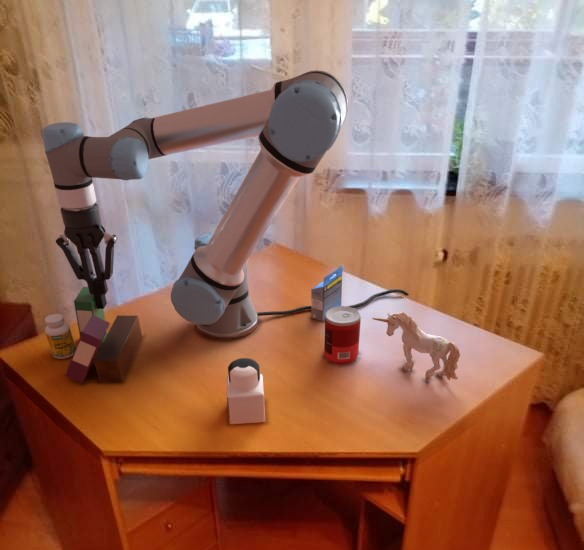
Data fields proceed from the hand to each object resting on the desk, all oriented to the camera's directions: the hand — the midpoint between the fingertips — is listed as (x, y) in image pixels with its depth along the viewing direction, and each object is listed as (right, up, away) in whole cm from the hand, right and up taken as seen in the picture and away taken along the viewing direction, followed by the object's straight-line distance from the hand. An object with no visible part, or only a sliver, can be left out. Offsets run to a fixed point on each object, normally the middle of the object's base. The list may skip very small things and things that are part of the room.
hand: (102, 305), depth 136 cm
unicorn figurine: (+70, -17, -6) cm, 72 cm away
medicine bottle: (+35, -24, -15) cm, 45 cm away
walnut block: (+4, -12, +1) cm, 13 cm away
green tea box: (-4, -8, +6) cm, 11 cm away
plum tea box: (-4, -15, -5) cm, 16 cm away
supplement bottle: (-10, -11, +3) cm, 15 cm away
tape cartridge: (+53, 0, +17) cm, 55 cm away
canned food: (+55, -12, +1) cm, 56 cm away
